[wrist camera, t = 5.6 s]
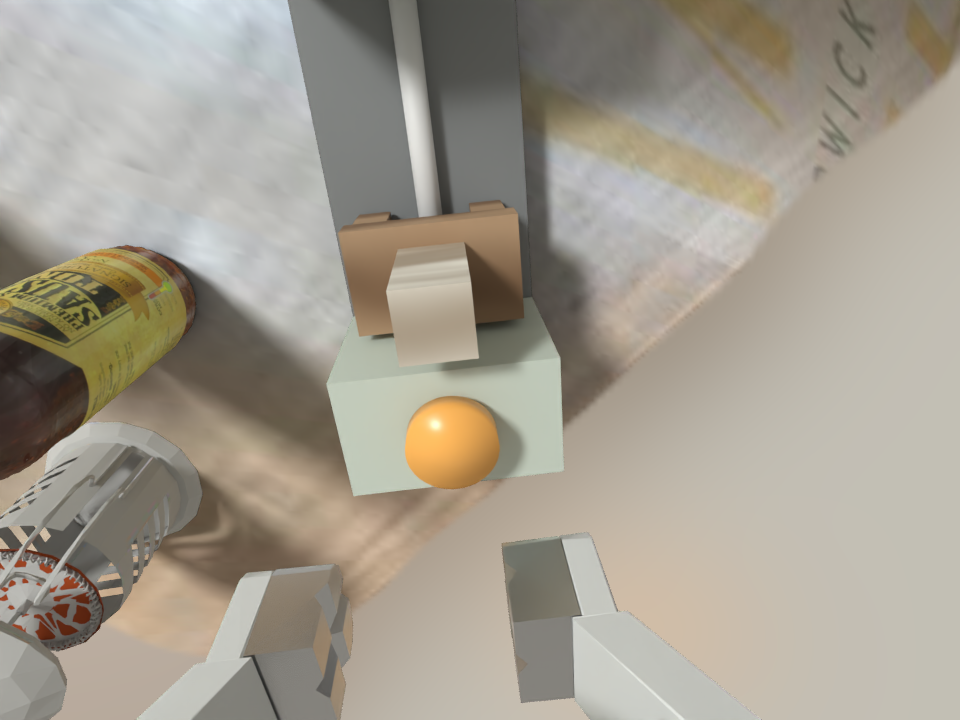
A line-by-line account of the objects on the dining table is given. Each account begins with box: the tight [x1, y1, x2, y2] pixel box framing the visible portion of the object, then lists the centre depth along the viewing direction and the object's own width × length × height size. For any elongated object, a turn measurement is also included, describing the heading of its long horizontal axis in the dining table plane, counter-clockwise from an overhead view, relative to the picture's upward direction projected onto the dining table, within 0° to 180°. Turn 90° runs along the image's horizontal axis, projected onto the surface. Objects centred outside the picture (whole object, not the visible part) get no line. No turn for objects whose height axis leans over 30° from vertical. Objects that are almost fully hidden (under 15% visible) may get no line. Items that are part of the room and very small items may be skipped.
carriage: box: [338, 200, 524, 367], centre depth 24 cm, size 5×8×10 cm, turn 95°
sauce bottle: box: [0, 245, 196, 480], centre depth 22 cm, size 7×6×20 cm
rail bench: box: [288, 0, 564, 496], centre depth 25 cm, size 26×10×10 cm, turn 5°
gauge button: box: [405, 396, 500, 489], centre depth 26 cm, size 4×4×6 cm
